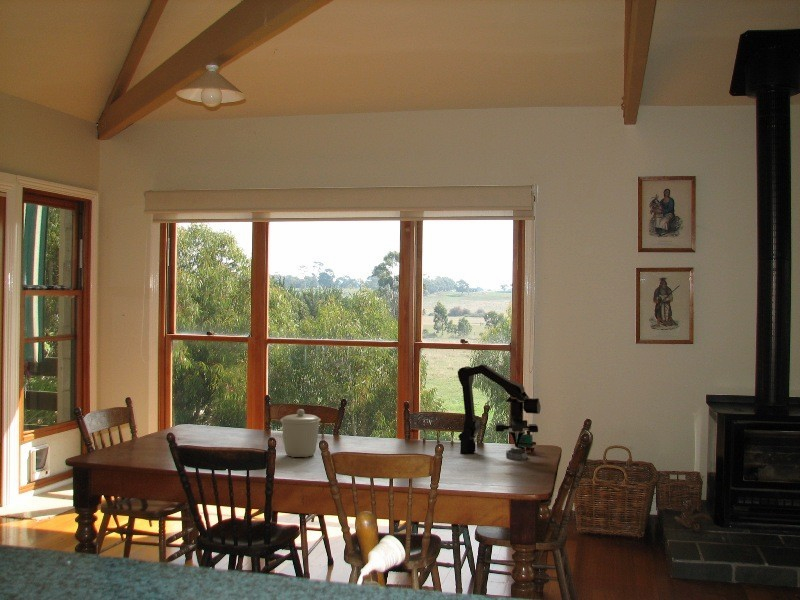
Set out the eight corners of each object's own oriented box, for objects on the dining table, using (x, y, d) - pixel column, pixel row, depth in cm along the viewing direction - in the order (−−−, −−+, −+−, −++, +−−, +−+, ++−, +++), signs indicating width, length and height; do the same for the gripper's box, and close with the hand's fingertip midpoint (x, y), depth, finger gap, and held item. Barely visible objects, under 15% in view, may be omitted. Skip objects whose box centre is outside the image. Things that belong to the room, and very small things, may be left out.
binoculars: (538, 429, 354) (531, 430, 345) (537, 451, 353) (530, 453, 345) (520, 427, 358) (513, 428, 350) (519, 449, 358) (512, 451, 349)
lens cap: (510, 458, 335) (511, 449, 335) (510, 456, 340) (510, 447, 340) (522, 459, 334) (522, 449, 334) (521, 456, 339) (521, 447, 339)
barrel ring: (506, 459, 333) (506, 453, 333) (505, 455, 342) (505, 449, 342) (527, 459, 332) (527, 454, 332) (525, 455, 341) (525, 450, 341)
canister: (322, 451, 348) (322, 406, 348) (318, 460, 330) (318, 412, 329) (283, 451, 348) (283, 405, 348) (276, 460, 330) (277, 412, 330)
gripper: (496, 414, 330) (496, 450, 330) (539, 415, 328) (539, 451, 328) (495, 410, 341) (495, 445, 341) (537, 411, 339) (536, 446, 339)
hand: (516, 446), depth 337 cm, fingers closed
